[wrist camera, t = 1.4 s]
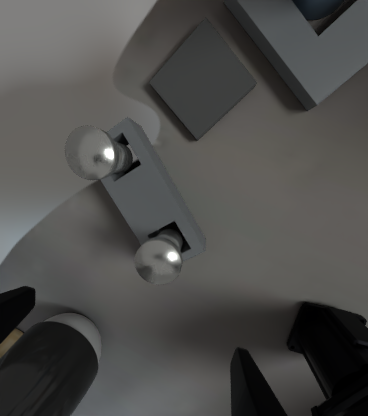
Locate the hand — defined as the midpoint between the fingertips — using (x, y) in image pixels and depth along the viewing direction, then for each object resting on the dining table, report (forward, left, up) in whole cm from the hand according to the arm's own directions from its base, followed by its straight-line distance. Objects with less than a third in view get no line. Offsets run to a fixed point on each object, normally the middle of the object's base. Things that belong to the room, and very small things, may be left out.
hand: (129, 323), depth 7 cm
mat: (+14, 0, -13) cm, 19 cm away
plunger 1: (+6, +6, -10) cm, 14 cm away
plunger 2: (-1, 0, -10) cm, 10 cm away
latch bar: (+3, +3, -13) cm, 14 cm away
